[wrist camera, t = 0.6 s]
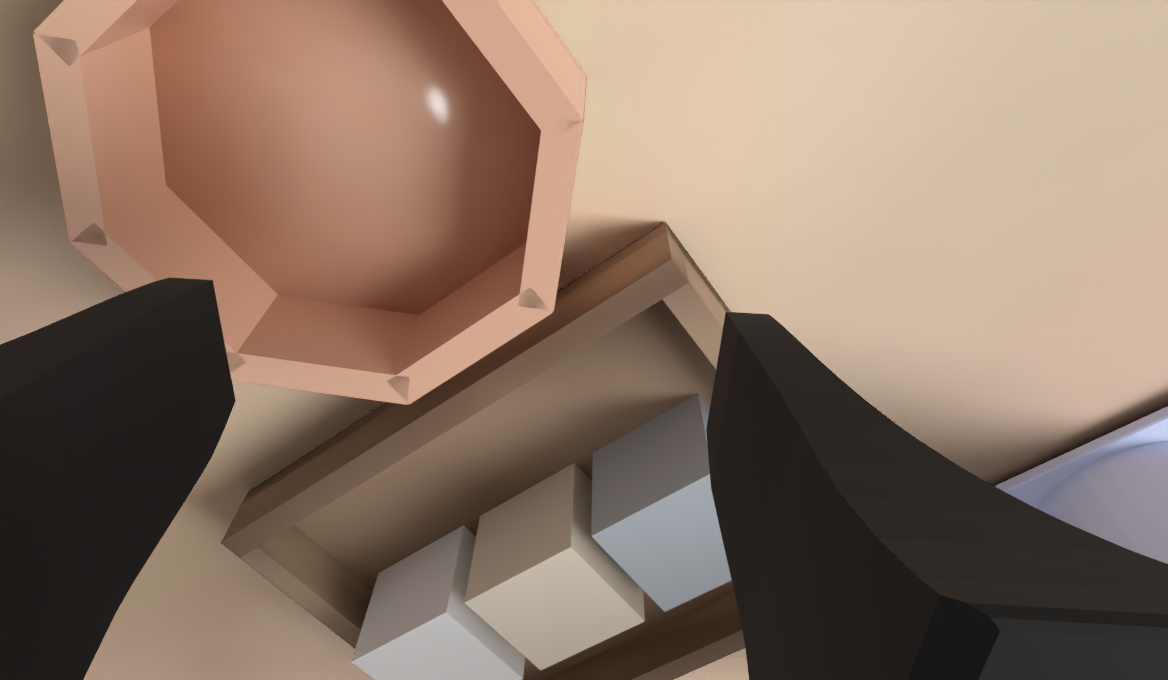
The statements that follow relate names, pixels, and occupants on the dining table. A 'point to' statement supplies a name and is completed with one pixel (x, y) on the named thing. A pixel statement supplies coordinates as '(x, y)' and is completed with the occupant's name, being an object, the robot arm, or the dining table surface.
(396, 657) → the white block
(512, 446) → the walnut tray
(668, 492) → the blue-grey block
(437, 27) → the terracotta bowl
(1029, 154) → the dining table surface
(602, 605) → the beige block
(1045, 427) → the dining table surface
